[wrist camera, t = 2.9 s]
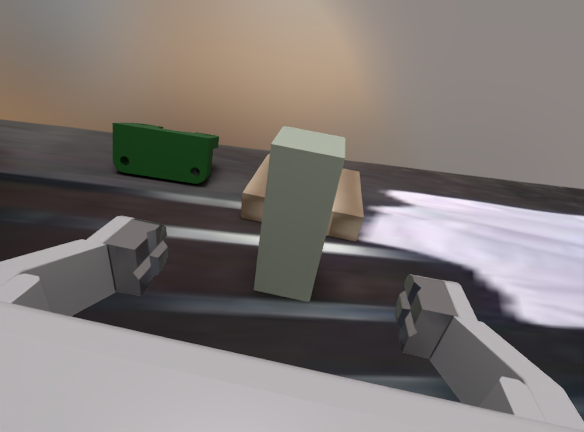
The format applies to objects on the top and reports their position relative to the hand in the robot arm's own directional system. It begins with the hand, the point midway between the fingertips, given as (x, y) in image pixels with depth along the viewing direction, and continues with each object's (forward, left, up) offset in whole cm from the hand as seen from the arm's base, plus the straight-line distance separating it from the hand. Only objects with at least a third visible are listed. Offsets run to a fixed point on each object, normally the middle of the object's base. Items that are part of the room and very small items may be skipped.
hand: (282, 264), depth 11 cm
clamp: (-18, +28, -12) cm, 36 cm away
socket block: (0, +26, -11) cm, 29 cm away
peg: (0, +12, -11) cm, 17 cm away
